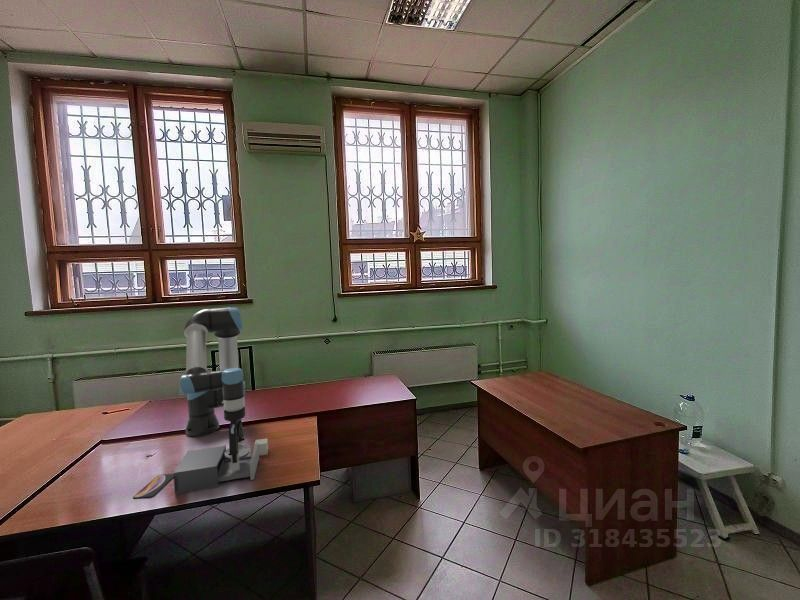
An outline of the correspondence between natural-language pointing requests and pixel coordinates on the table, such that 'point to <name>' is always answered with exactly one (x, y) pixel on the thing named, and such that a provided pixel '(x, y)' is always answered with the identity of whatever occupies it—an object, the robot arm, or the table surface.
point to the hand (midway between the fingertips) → (237, 463)
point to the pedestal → (262, 446)
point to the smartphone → (154, 486)
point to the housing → (199, 469)
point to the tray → (246, 467)
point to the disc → (242, 451)
